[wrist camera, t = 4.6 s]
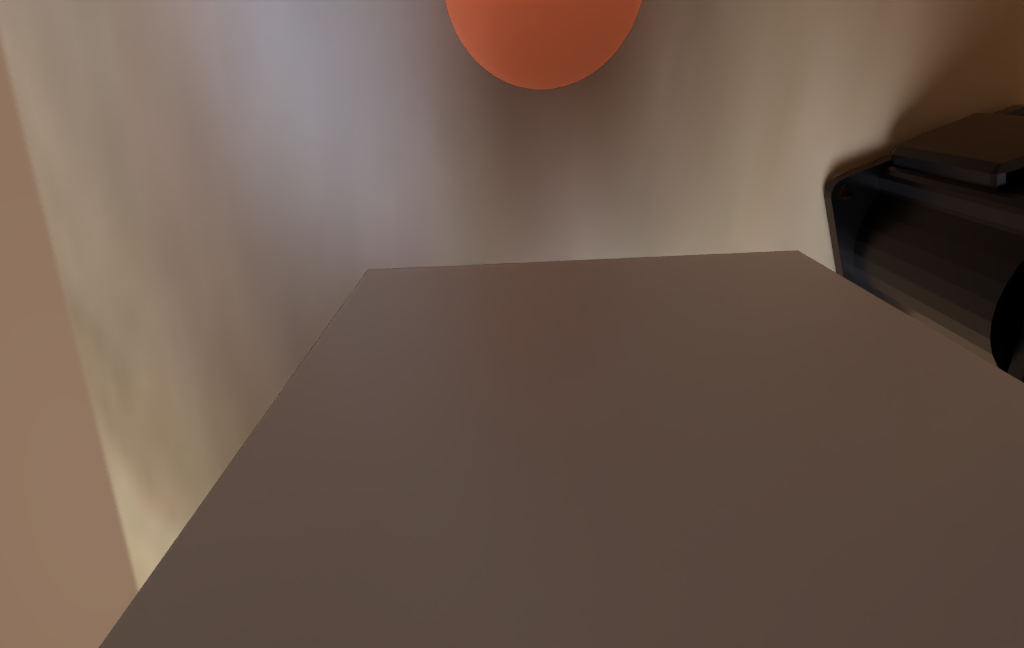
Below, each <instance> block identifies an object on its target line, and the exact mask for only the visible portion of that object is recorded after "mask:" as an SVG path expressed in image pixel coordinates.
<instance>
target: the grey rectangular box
mask: <svg viewBox="0 0 1024 648" xmlns="http://www.w3.org/2000/svg"><path fill="white" fill-rule="evenodd" d="M99 648H1024V383H1023V382H1021V381H1020V380H1018V379H1016V378H1015V377H1013V376H1011V375H1009V374H1008V373H1006V372H1004V371H1003V370H1001V369H999V368H997V367H996V366H994V365H992V364H991V363H989V362H987V361H985V360H984V359H982V358H980V357H979V356H977V355H975V354H974V353H972V352H970V351H968V350H967V349H965V348H963V347H962V346H960V345H958V344H956V343H955V342H953V341H951V340H950V339H948V338H946V337H945V336H943V335H941V334H939V333H938V332H936V331H934V330H933V329H931V328H929V327H927V326H926V325H924V324H922V323H921V322H919V321H917V320H916V319H914V318H912V317H910V316H909V315H907V314H905V313H904V312H902V311H900V310H898V309H897V308H895V307H893V306H892V305H890V304H888V303H886V302H885V301H883V300H881V299H880V298H878V297H876V296H875V295H873V294H871V293H869V292H868V291H866V290H864V289H863V288H861V287H859V286H857V285H856V284H854V283H852V282H851V281H849V280H847V279H846V278H844V277H842V276H840V275H839V274H837V273H835V272H834V271H832V270H830V269H828V268H827V267H825V266H823V265H822V264H820V263H818V262H816V261H815V260H813V259H811V258H810V257H808V256H806V255H805V254H803V253H801V252H799V251H776V252H753V253H731V254H708V255H686V256H663V257H641V258H618V259H595V260H573V261H550V262H528V263H505V264H483V265H460V266H437V267H415V268H392V269H370V270H367V271H366V273H365V274H364V276H363V277H362V278H361V280H360V281H359V283H358V284H357V285H356V287H355V288H354V290H353V291H352V292H351V294H350V295H349V297H348V298H347V299H346V301H345V302H344V304H343V305H342V306H341V308H340V309H339V311H338V312H337V314H336V315H335V316H334V318H333V319H332V321H331V322H330V323H329V325H328V326H327V328H326V329H325V330H324V332H323V333H322V335H321V336H320V337H319V339H318V340H317V342H316V343H315V344H314V346H313V347H312V349H311V350H310V351H309V353H308V354H307V356H306V357H305V359H304V360H303V361H302V363H301V364H300V366H299V367H298V368H297V370H296V371H295V373H294V374H293V375H292V377H291V378H290V380H289V381H288V382H287V384H286V385H285V387H284V388H283V389H282V391H281V392H280V394H279V395H278V396H277V398H276V399H275V401H274V402H273V404H272V405H271V406H270V408H269V409H268V411H267V412H266V413H265V415H264V416H263V418H262V419H261V420H260V422H259V423H258V425H257V426H256V427H255V429H254V430H253V432H252V433H251V434H250V436H249V437H248V439H247V440H246V441H245V443H244V444H243V446H242V447H241V449H240V450H239V451H238V453H237V454H236V456H235V457H234V458H233V460H232V461H231V463H230V464H229V465H228V467H227V468H226V470H225V471H224V472H223V474H222V475H221V477H220V478H219V479H218V481H217V482H216V484H215V485H214V486H213V488H212V489H211V491H210V492H209V494H208V495H207V496H206V498H205V499H204V501H203V502H202V503H201V505H200V506H199V508H198V509H197V510H196V512H195V513H194V515H193V516H192V517H191V519H190V520H189V522H188V523H187V524H186V526H185V527H184V529H183V530H182V531H181V533H180V534H179V536H178V537H177V539H176V540H175V541H174V543H173V544H172V546H171V547H170V548H169V550H168V551H167V553H166V554H165V555H164V557H163V558H162V560H161V561H160V562H159V564H158V565H157V567H156V568H155V569H154V571H153V572H152V574H151V575H150V576H149V578H148V579H147V581H146V582H145V584H144V585H143V586H142V588H141V589H140V591H139V592H138V593H137V595H136V596H135V598H134V599H133V600H132V602H131V603H130V605H129V606H128V608H127V609H126V610H125V612H124V613H123V615H122V616H121V617H120V619H119V620H118V622H117V623H116V625H115V626H114V627H113V629H112V630H111V632H110V633H109V634H108V636H107V637H106V638H105V640H104V641H103V643H102V644H101V645H100V647H99Z"/></svg>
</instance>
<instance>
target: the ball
mask: <svg viewBox="0 0 1024 648" xmlns="http://www.w3.org/2000/svg"><path fill="white" fill-rule="evenodd" d="M445 2H446V6H447V10H448V13H449V16H450V19H451V22H452V25H453V27H454V29H455V31H456V33H457V35H458V37H459V39H460V40H461V42H462V43H463V45H464V46H465V48H466V50H467V51H468V52H469V53H470V54H471V56H472V57H473V58H474V59H475V60H476V61H477V62H478V63H479V64H480V65H481V66H482V67H483V68H484V69H486V70H487V71H488V72H490V73H491V74H493V75H494V76H495V77H497V78H499V79H501V80H503V81H505V82H507V83H510V84H512V85H515V86H518V87H523V88H528V89H540V90H544V89H555V88H559V87H563V86H567V85H570V84H572V83H575V82H577V81H579V80H581V79H583V78H585V77H587V76H589V75H590V74H592V73H593V72H595V71H596V70H597V69H599V68H600V67H601V66H602V65H604V64H605V63H606V62H607V61H608V60H609V59H610V58H611V57H612V56H613V55H614V53H615V52H616V51H617V50H618V49H619V47H620V46H621V45H622V43H623V42H624V40H625V38H626V37H627V35H628V34H629V32H630V30H631V28H632V26H633V24H634V22H635V20H636V17H637V14H638V12H639V9H640V6H641V3H642V0H445Z"/></svg>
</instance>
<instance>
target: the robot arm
mask: <svg viewBox="0 0 1024 648" xmlns="http://www.w3.org/2000/svg"><path fill="white" fill-rule="evenodd" d="M845 185H846V186H847V191H846V193H845V194H844V195H843V196H841V197H839V196H838V195H839V191H840V189H841V188H842V187H843V186H845ZM824 198H825V204H826V210H827V216H828V222H829V228H830V234H831V241H832V247H833V253H834V259H835V265H836V271H837V274H839V275H840V276H842V277H844V278H846V279H847V280H849V281H851V282H852V283H854V284H856V285H857V286H859V287H861V288H863V289H864V290H866V291H868V292H869V293H871V294H873V295H875V296H876V297H878V298H880V299H881V300H883V301H885V302H886V303H888V304H890V305H892V306H893V307H895V308H897V309H898V310H900V311H902V312H904V313H905V314H907V315H909V316H910V317H912V318H914V319H916V320H917V321H919V322H921V323H922V324H924V325H926V326H927V327H929V328H931V329H933V330H934V331H936V332H938V333H939V334H941V335H943V336H945V337H946V338H948V339H950V340H951V341H953V342H955V343H956V344H958V345H960V346H962V347H963V348H965V349H967V350H968V351H970V352H972V353H974V354H975V355H977V356H979V357H980V358H982V359H984V360H985V361H987V362H989V363H991V364H992V365H994V366H996V367H997V368H999V369H1001V370H1003V371H1004V372H1006V373H1008V374H1009V375H1011V376H1013V377H1015V378H1016V379H1018V380H1020V381H1021V382H1023V383H1024V104H1019V105H1014V106H1012V107H1009V108H1007V109H1004V110H1002V111H999V112H996V113H994V114H988V113H976V114H973V115H971V116H968V117H966V118H963V119H961V120H958V121H956V122H953V123H951V124H948V125H946V126H943V127H941V128H938V129H936V130H933V131H931V132H928V133H926V134H923V135H921V136H918V137H916V138H913V139H911V140H908V141H906V142H903V143H901V144H899V145H898V146H897V147H896V148H895V149H894V150H893V151H892V152H891V155H889V156H886V157H884V158H881V159H879V160H876V161H874V162H871V163H869V164H866V165H864V166H861V167H859V168H856V169H854V170H851V171H849V172H846V173H844V174H841V175H839V176H837V177H835V178H833V179H832V180H831V181H830V182H829V183H828V184H827V186H826V188H825V191H824Z"/></svg>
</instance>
